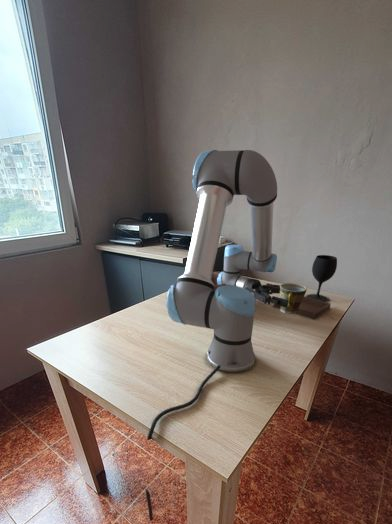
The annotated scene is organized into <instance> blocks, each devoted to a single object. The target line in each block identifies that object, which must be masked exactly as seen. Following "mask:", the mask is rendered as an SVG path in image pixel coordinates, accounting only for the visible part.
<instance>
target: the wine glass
mask: <svg viewBox="0 0 392 524" xmlns="http://www.w3.org/2000/svg"><path fill="white" fill-rule="evenodd" d="M337 266H338V258H337V257H336V256H334V255H329V254H328V255H327V254H320V255H316V257H315V258H314V261H313V263H312V267H311V273H312V276H313V278H314V279H315V280H316V281H317V282H318V288H317V292H316V293H311V294H307V295H306V296H305V297H308V298H312V299H315V300H319V301H323V302H327V303H328V301H329V298H328V297H327V296H326V295H322V294H321V293H320V292H321V288H322V285H323V283H325V282H327V281H329V280H330V279H332V278H333V277H334V275H335V274H336V271H337V268H338V267H337Z"/></svg>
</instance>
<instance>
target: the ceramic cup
mask: <svg viewBox="0 0 392 524" xmlns="http://www.w3.org/2000/svg"><path fill="white" fill-rule="evenodd" d="M280 285H281V286H280V294H279V298H282V299H286V300H289V301H288V306H287V308H286V307H283V306H280V309H279V310H280V312H281V313H283V314H285V315H297V314H296V313H297V311H298V309H299V306H300V304H301V301H302V299H303V298H304V297H305V295H306V293H307V291H308V288H307V287H306V286H305V285H302V284H300V283H299V284H298V283H288V282H287V283H282V284H280Z"/></svg>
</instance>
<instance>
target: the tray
mask: <svg viewBox="0 0 392 524" xmlns="http://www.w3.org/2000/svg"><path fill="white" fill-rule="evenodd" d="M273 308H276V309H279V310H280V306H279V305H276V304H273ZM330 309H331V303H330V302H328V301H327V302H323V301H319V300H315V299H312V298H308V297H306V296H304V298H303V299H302V301H301V304H300V306H299V309H298V311H297V313H296V314H295V315H298V316H301V317H304V318H307V319H311V320H314V321H315V320H317V319H318V318H319V317H321V316H322V315H324V314H325V313H327V312H328V311H330Z"/></svg>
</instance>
